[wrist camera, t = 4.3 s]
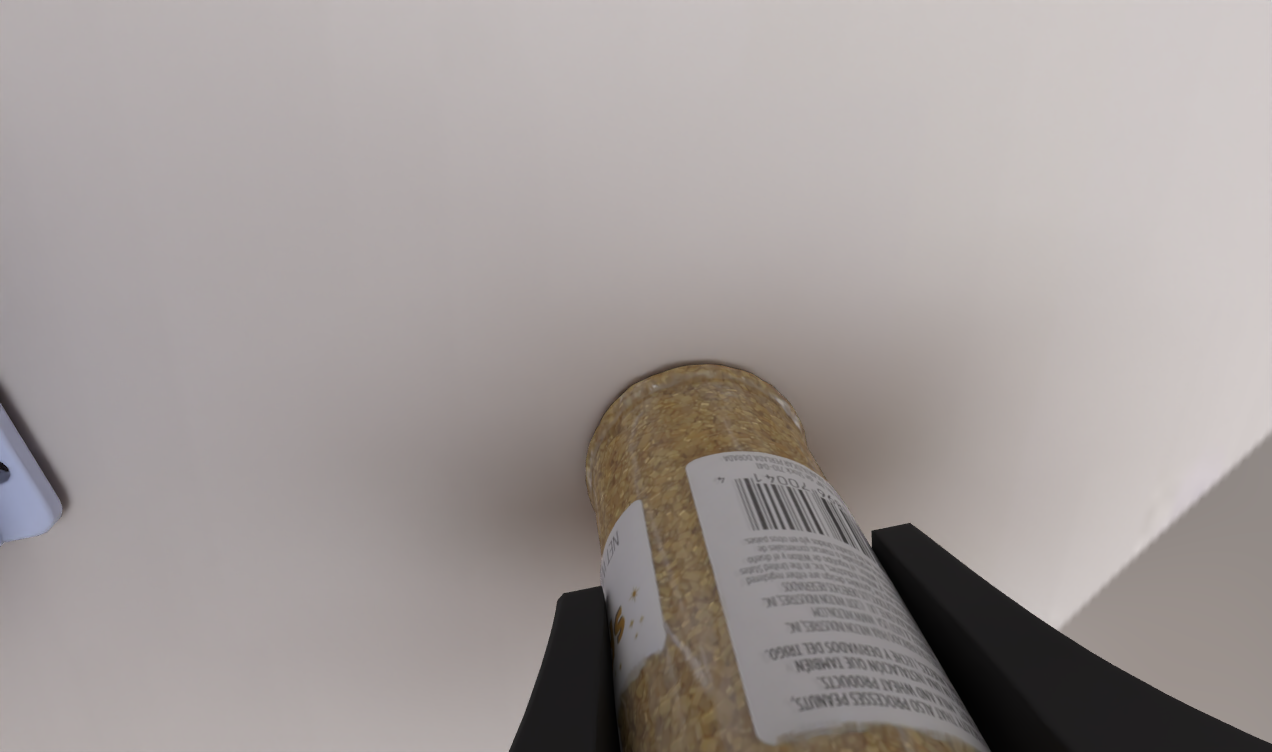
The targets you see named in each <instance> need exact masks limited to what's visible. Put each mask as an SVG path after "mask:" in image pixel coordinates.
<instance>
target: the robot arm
mask: <svg viewBox="0 0 1272 752" xmlns="http://www.w3.org/2000/svg"><path fill="white" fill-rule="evenodd" d="M0 462H2V463H3V464H4V465H5V466H6V467H7V468H8V469H9V472H8V471H4V470H1V469H0V547H1V546H2V544H3V543H4V542H9V541H14V540H19V539H24V538H30V537H35V536H39V535H41V534H44V533H46V532H47V531H48V530H49V529H50V528H51V527H52V526H53V525H54V524H55V523H56V522H57V520H58V519H59V518H60V517H61V514H62V509H63V508H62V505H61V502H60V500H59V498H58V496H57V495H56V493H55V491H54V490H53V488H52V486H51V485H50V483H49V482H48V480H47V478H46V477H45V475H44V473H43V472H42V470H41V469H40V467H39V465H38V464H37V462H36V460H35V459H34V457H33V455H32V454H31V452H30V451H29V449H28V447H27V446H26V444H25V442H24V441H23V439H22V437H21V436H20V434H19V433H18V431H17V429H16V428H15V426H14V424H13V423H12V421H11V420H10V418H9V416H8V415H7V413H6V411H5V410H4V408H3V406H2V405H1V403H0ZM872 550H873V551H874V553H875V555H876V556H877V558H878V560H879V561H880V563H881V565H882V566H883V568H884V570H885V571H886V573H887V575H888V576H889V578H890V580H891V581H892V583H893V585H894V586H895V588H896V590H897V591H898V593H899V595H900V596H901V598H902V600H903V602H904V603H905V605H906V607H907V608H908V610H909V612H910V613H911V615H912V617H913V618H914V620H915V622H916V623H917V625H918V627H919V629H920V630H921V632H922V634H923V635H924V637H925V639H926V640H927V642H928V644H929V646H930V647H931V649H932V651H933V652H934V654H935V656H936V658H937V659H938V661H939V663H940V664H941V666H942V668H943V670H944V671H945V673H946V675H947V676H948V678H949V680H950V682H951V683H952V685H953V687H954V688H955V690H956V692H957V694H958V695H959V697H960V699H961V700H962V702H963V704H964V706H965V707H966V709H967V711H968V713H969V714H970V716H971V718H972V719H973V721H974V723H975V725H976V726H977V728H978V730H979V732H980V733H981V735H982V737H983V738H984V740H985V742H986V744H987V745H988V747H989V749H990V751H991V752H1272V744H1271V743H1268V742H1266V741H1264V740H1261V739H1259V738H1257V737H1254V736H1252V735H1250V734H1248V733H1245V732H1243V731H1241V730H1239V729H1237V728H1235V727H1233V726H1231V725H1229V724H1226V723H1224V722H1222V721H1220V720H1218V719H1216V718H1214V717H1212V716H1210V715H1208V714H1205V713H1203V712H1201V711H1199V710H1197V709H1195V708H1193V707H1191V706H1189V705H1187V704H1185V703H1183V702H1181V701H1179V700H1177V699H1175V698H1173V697H1171V696H1169V695H1167V694H1165V693H1163V692H1161V691H1160V690H1158V689H1156V688H1154V687H1152V686H1151V685H1149V684H1147V683H1145V682H1143V681H1141V680H1140V679H1138V678H1136V677H1134V676H1132V675H1130V674H1129V673H1127V672H1125V671H1123V670H1121V669H1120V668H1118V667H1116V666H1114V665H1112V664H1111V663H1109V662H1107V661H1105V660H1104V659H1102V658H1100V657H1099V656H1097V655H1095V654H1094V653H1092V652H1090V651H1089V650H1087V649H1086V648H1084V647H1082V646H1081V645H1079V644H1078V643H1076V642H1075V641H1073V640H1071V639H1070V638H1068V637H1067V636H1065V635H1063V634H1062V633H1060V632H1059V631H1057V630H1056V629H1054V628H1053V627H1051V626H1050V625H1048V624H1047V623H1045V622H1044V621H1042V620H1041V619H1039V618H1038V617H1036V616H1035V615H1033V614H1032V613H1030V612H1029V611H1028V610H1026V609H1025V608H1023V607H1022V606H1021V605H1019V604H1018V603H1016V602H1015V601H1014V600H1012V599H1011V598H1009V597H1008V596H1006V595H1005V594H1004V593H1002V592H1001V591H999V590H998V589H997V588H995V587H994V586H992V585H991V584H990V583H988V582H987V581H986V580H984V579H983V578H982V577H980V576H979V575H978V574H976V573H975V572H974V571H972V570H971V569H970V568H968V567H967V566H966V565H964V564H963V563H962V562H960V561H959V560H958V559H956V558H955V557H954V556H953V555H951V554H950V553H949V552H947V551H946V550H945V549H944V548H942V547H941V546H940V545H938V544H937V543H936V542H935V541H933V540H932V539H931V538H929V537H928V536H927V535H925V534H924V533H923V532H922V531H920V530H919V529H918V528H916V527H915V526H913V525H912V524H911V523H907V524H902V525H897V526H892V527H888V528H883V529H878V530H873V531H872ZM509 752H621V751H620V743H619V735H618V727H617V719H616V710H615V698H614V685H613V669H612V654H611V644H610V635H609V627H608V618H607V609H606V601H605V596H604V592H603V588H602V586H598V587H593V588H588V589H583V590H578V591H573V592H569V593H564V594H562V596H561V597H560V598H559V599H558V601H557V606H556V612H555V617H554V621H553V626H552V630H551V634H550V637H549V641H548V645H547V648H546V651H545V655H544V658H543V661H542V665H541V668H540V671H539V674H538V677H537V680H536V682H535V685H534V688H533V691H532V694H531V697H530V700H529V703H528V705H527V708H526V711H525V714H524V716H523V719H522V721H521V724H520V726H519V728H518V731H517V733H516V736H515V738H514V740H513V743H512V745H511V748H510V750H509Z"/></svg>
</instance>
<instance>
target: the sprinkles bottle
mask: <svg viewBox="0 0 1272 752" xmlns="http://www.w3.org/2000/svg"><path fill="white" fill-rule="evenodd" d="M586 485H587V490H588V495H589V498H590V501H591V504H592V507H593V509H594V511H595V513H596V519H597V528H598V534H599V540H600V546H601V556H602V561H601V570H600V577H601V586H602V588H603V592H604V596H605V601H606V609H607V618H608V627H609V635H610V644H611V654H612V669H613V685H614V698H615V710H616V719H617V727H618V735H619V743H620V751H621V752H991V751H990V749H989V747H988V745H987V744H986V742H985V740H984V738H983V737H982V735H981V733H980V732H979V730H978V728H977V726H976V725H975V723H974V721H973V719H972V718H971V716H970V714H969V713H968V711H967V709H966V707H965V706H964V704H963V702H962V700H961V699H960V697H959V695H958V694H957V692H956V690H955V688H954V687H953V685H952V683H951V682H950V680H949V678H948V676H947V675H946V673H945V671H944V670H943V668H942V666H941V664H940V663H939V661H938V659H937V658H936V656H935V654H934V652H933V651H932V649H931V647H930V646H929V644H928V642H927V640H926V639H925V637H924V635H923V634H922V632H921V630H920V629H919V627H918V625H917V623H916V622H915V620H914V618H913V617H912V615H911V613H910V612H909V610H908V608H907V607H906V605H905V603H904V602H903V600H902V598H901V596H900V595H899V593H898V591H897V590H896V588H895V586H894V585H893V583H892V581H891V580H890V578H889V576H888V575H887V573H886V571H885V570H884V568H883V566H882V565H881V563H880V561H879V560H878V558H877V556H876V555H875V553H874V551H873V550H872V548H871V546H870V545H869V543H868V541H867V539H866V538H865V536H864V534H863V533H862V531H861V529H860V528H859V526H858V524H857V522H856V521H855V519H854V517H853V516H852V514H851V512H850V511H849V509H848V507H847V506H846V504H845V503H844V501H843V500H842V499H841V497H840V496H839V494H838V493H837V492H836V491H835V489H834V488H833V487H832V486H831V485H830V484H829V483H828V481H827V480H826V478H825V476H824V475H823V473H822V471H821V469H820V468H819V466H818V464H817V463H816V461H815V460H814V458H813V456H812V454H811V452H810V451H809V450H808V448H807V443H806V439H805V431H804V429H803V426H802V424H801V421H800V419H799V418H798V416H797V414H796V412H795V410H794V409H793V407H792V406H791V404H790V403H789V401H788V400H787V399H786V398H785V397H783V396H782V395H781V394H779V393H778V391H777V390H776V389H775V388H774V387H773V386H772V385H770V384H768V383H767V382H765V381H762V380H760V379H759V378H758V377H757V376H755V375H753V374H751V373H748V372H746V371H743V370H739V369H734V368H730V367H726V366H722V365H715V364H703V365H687V366H682V367H678V368H674V369H670V370H668V371H665V372H662V373H659V374H656V375H653V376H651V377H649V378H647V379H645V380H642V381H640V382H638V383H636V384H634V385H632V386H631V387H630V388H628V389H627V390H626V391H625V392H624V393H623V394H622V395H621V396H620V397H619V398H618V399H617V400H616V401H615V402H614V403H613V404H612V405H611V406H610V408H609V409H608V410H607V411H606V413H605V414H604V416H603V417H602V419H601V422H600V425H599V426H598V427H597V429H596V430H595V433H594V435H593V438H592V440H591V442H590V444H589V448H588V452H587V457H586Z"/></svg>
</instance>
